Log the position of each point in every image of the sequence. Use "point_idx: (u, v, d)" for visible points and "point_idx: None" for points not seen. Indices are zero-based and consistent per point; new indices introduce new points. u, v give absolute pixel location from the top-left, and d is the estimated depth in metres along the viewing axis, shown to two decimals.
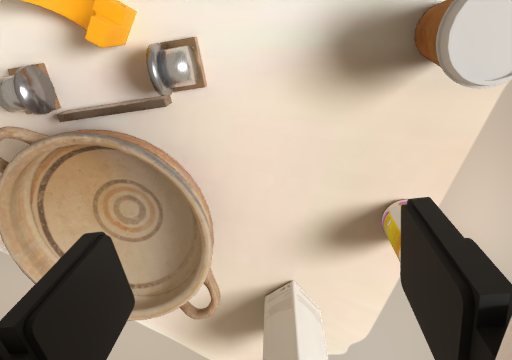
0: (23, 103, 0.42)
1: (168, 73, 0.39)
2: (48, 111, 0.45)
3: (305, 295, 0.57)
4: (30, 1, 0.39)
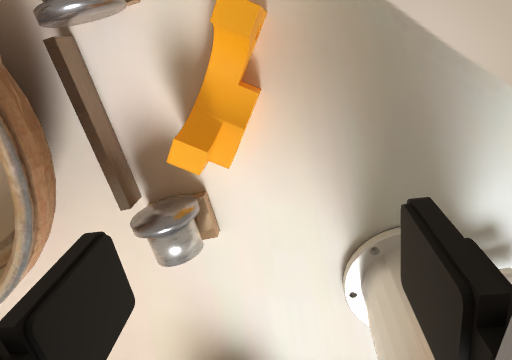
0: (42, 9, 0.22)
1: (159, 243, 0.29)
2: (52, 26, 0.25)
3: None
4: (215, 31, 0.23)
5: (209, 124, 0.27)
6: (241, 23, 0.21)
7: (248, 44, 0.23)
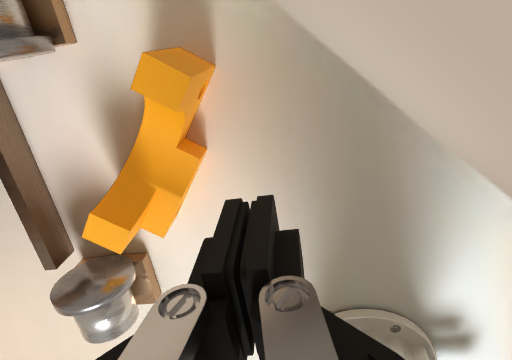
0: None
1: (82, 319, 0.25)
2: None
3: None
4: None
5: (139, 191, 0.23)
6: (168, 94, 0.17)
7: (183, 111, 0.19)
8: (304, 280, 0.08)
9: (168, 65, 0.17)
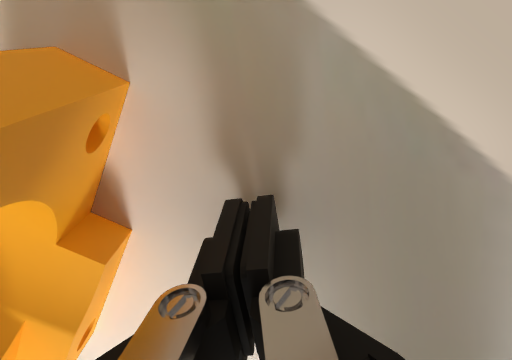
0: None
1: None
2: None
3: None
4: None
5: None
6: None
7: None
8: (304, 280, 0.08)
9: None
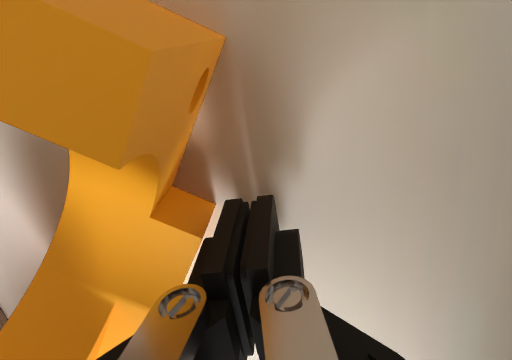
0: None
1: None
2: None
3: None
4: None
5: (78, 313, 0.11)
6: (82, 116, 0.05)
7: None
8: (304, 280, 0.08)
9: (67, 11, 0.05)
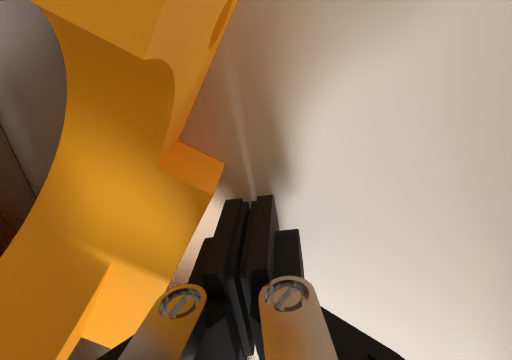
0: None
1: None
2: None
3: None
4: (43, 8, 0.06)
5: (68, 272, 0.09)
6: None
7: (169, 71, 0.06)
8: (304, 280, 0.08)
9: None
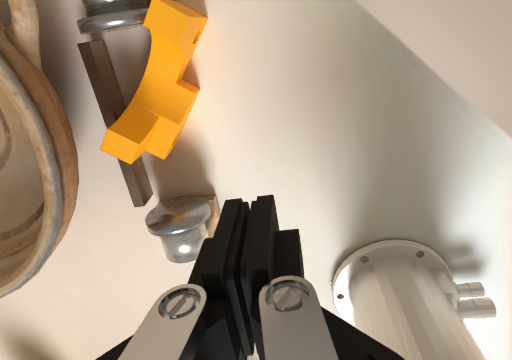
0: (88, 21, 0.23)
1: (172, 242, 0.31)
2: (89, 33, 0.26)
3: None
4: (152, 33, 0.25)
5: (145, 118, 0.28)
6: (171, 30, 0.23)
7: (181, 48, 0.25)
8: (304, 280, 0.08)
9: (172, 7, 0.22)
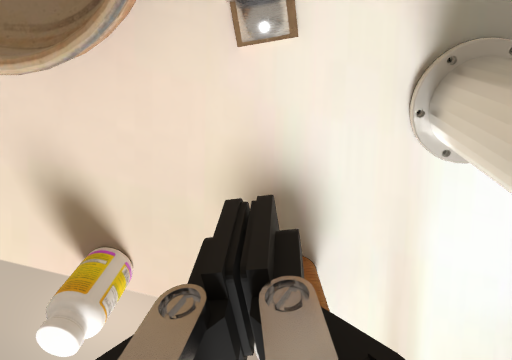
0: None
1: (256, 9, 0.28)
2: None
3: None
4: None
5: None
6: None
7: None
8: (304, 280, 0.08)
9: None
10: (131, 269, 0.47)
